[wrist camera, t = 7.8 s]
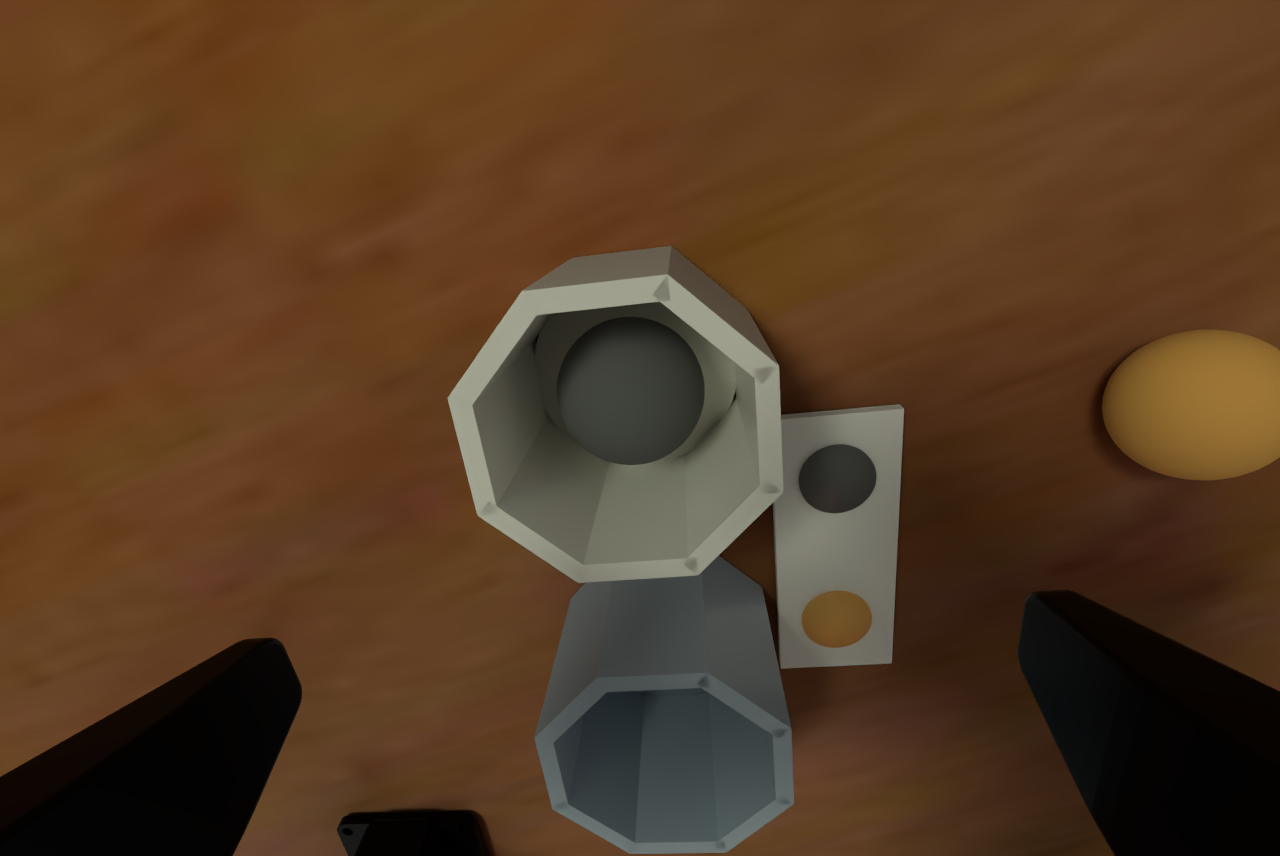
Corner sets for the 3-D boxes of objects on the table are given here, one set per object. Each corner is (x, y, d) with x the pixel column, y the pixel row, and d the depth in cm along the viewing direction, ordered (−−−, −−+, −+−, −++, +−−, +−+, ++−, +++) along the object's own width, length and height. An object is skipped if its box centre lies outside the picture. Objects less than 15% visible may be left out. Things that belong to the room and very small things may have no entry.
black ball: (706, 425, 18) (715, 484, 15) (580, 437, 19) (558, 498, 15) (694, 297, 17) (702, 326, 13) (559, 312, 17) (528, 345, 14)
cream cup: (755, 459, 19) (786, 570, 14) (546, 476, 20) (495, 587, 14) (743, 237, 17) (775, 261, 11) (504, 265, 17) (423, 302, 12)
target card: (888, 655, 22) (893, 666, 21) (779, 660, 22) (781, 671, 22) (899, 404, 18) (906, 410, 18) (768, 416, 19) (771, 422, 18)
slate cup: (767, 690, 23) (795, 851, 17) (591, 698, 24) (564, 854, 18) (759, 538, 20) (789, 668, 15) (561, 551, 21) (519, 681, 16)
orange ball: (1199, 438, 18) (1333, 502, 14) (1061, 449, 18) (1157, 514, 15) (1232, 308, 17) (1391, 342, 13) (1081, 323, 17) (1192, 361, 13)
